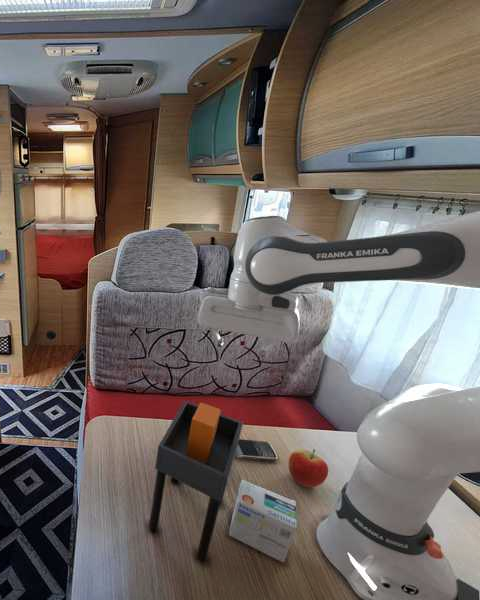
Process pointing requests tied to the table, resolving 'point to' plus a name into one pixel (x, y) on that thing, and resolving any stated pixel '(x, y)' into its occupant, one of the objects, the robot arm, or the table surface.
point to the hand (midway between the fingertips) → (240, 351)
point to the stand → (208, 523)
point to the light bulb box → (264, 520)
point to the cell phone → (255, 450)
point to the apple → (307, 468)
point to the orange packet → (202, 432)
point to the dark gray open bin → (190, 471)
